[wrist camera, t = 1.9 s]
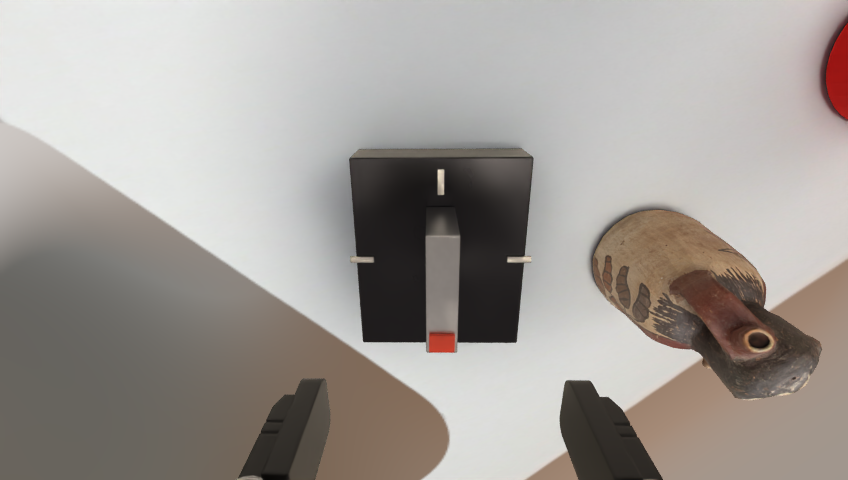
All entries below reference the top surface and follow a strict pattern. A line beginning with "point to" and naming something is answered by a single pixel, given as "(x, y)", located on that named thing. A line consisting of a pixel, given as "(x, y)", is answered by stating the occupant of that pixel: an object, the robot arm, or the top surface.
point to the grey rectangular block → (442, 279)
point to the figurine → (702, 302)
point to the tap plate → (406, 237)
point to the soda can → (839, 74)
